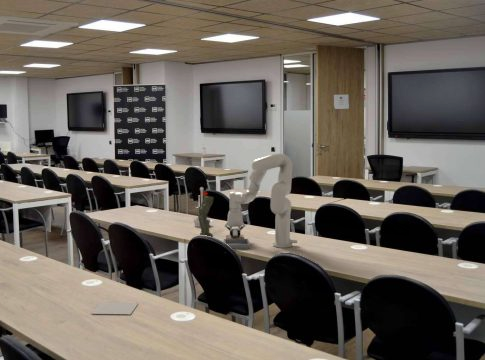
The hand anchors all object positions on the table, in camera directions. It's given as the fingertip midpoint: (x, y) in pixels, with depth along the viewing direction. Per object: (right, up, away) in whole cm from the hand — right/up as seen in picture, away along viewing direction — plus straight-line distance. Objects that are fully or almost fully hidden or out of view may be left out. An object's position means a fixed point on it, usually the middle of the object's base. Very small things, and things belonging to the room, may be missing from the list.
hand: (235, 236), depth 355 cm
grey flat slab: (-54, -19, -133) cm, 145 cm away
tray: (+1, -5, -17) cm, 17 cm away
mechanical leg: (-21, -2, +10) cm, 23 cm away
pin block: (0, -3, 0) cm, 3 cm away
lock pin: (0, -3, 0) cm, 3 cm away
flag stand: (-26, +3, +49) cm, 56 cm away
